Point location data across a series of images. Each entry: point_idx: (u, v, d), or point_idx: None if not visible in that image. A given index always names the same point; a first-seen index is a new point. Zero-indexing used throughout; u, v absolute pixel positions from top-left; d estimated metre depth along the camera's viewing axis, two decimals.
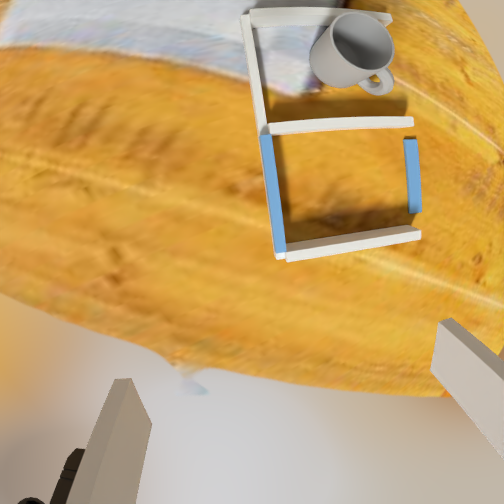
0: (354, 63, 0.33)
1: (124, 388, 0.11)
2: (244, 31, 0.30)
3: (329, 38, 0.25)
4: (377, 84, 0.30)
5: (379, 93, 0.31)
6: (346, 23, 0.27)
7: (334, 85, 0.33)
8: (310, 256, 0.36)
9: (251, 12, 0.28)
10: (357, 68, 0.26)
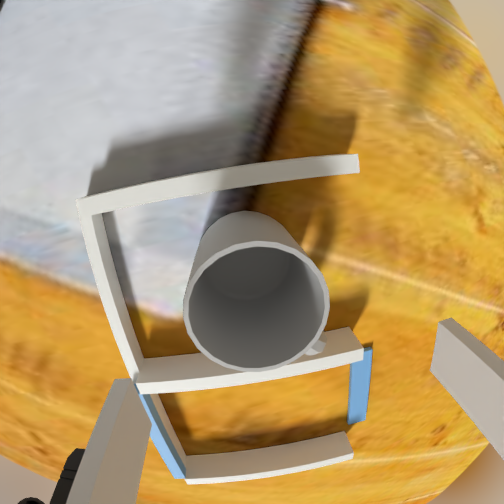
0: (279, 254, 0.24)
1: (124, 388, 0.11)
2: (84, 232, 0.20)
3: (184, 317, 0.15)
4: None
5: None
6: None
7: None
8: (212, 482, 0.27)
9: (81, 207, 0.18)
10: (240, 369, 0.16)
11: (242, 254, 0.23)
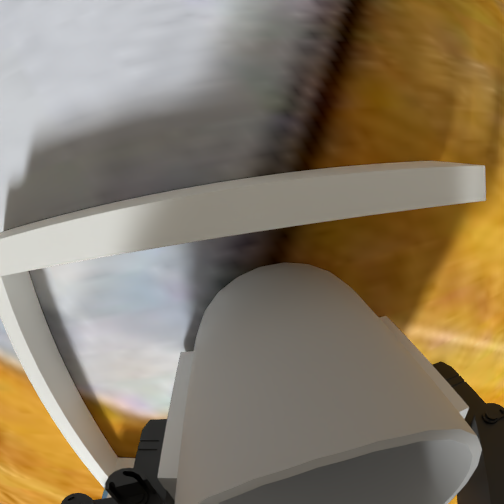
0: None
1: None
2: None
3: None
4: None
5: None
6: None
7: None
8: None
9: None
10: None
11: None
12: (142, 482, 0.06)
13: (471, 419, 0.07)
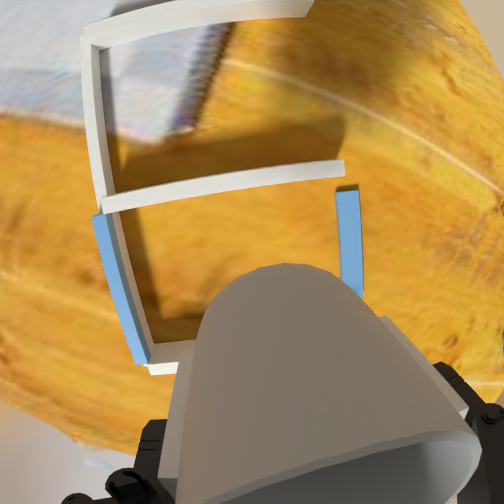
0: None
1: None
2: (82, 59, 0.19)
3: None
4: None
5: None
6: None
7: None
8: None
9: (84, 31, 0.17)
10: None
11: None
12: (142, 482, 0.06)
13: (471, 419, 0.07)
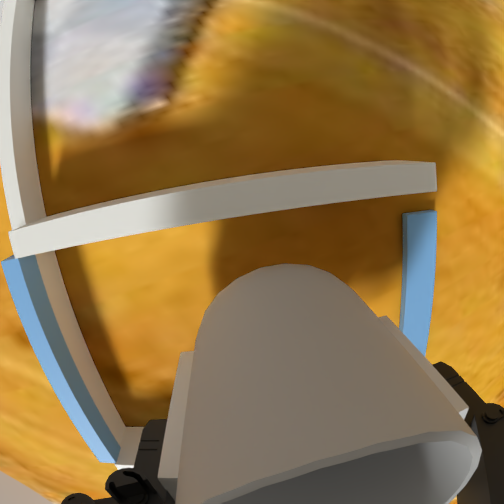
0: None
1: None
2: (3, 12, 0.08)
3: None
4: None
5: None
6: (307, 353, 0.07)
7: None
8: None
9: None
10: None
11: None
12: (142, 482, 0.06)
13: (471, 419, 0.07)
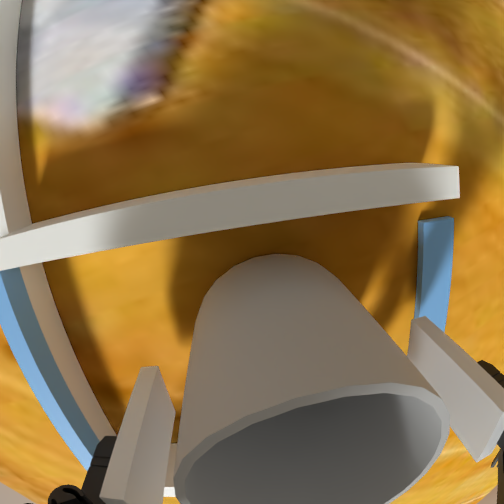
0: None
1: (151, 375, 0.11)
2: None
3: None
4: None
5: None
6: None
7: None
8: None
9: None
10: None
11: None
12: (82, 499, 0.05)
13: None
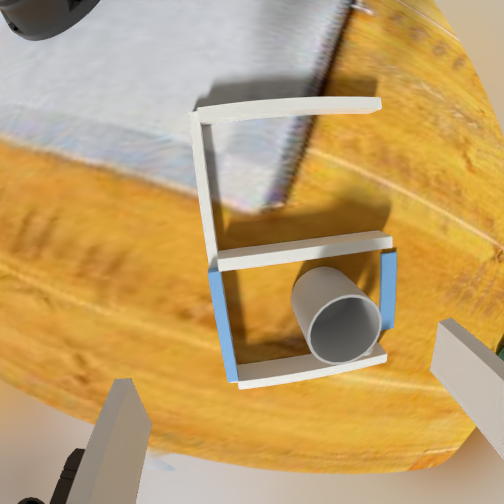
0: None
1: (124, 388, 0.11)
2: (192, 136, 0.29)
3: (306, 334, 0.27)
4: None
5: None
6: (335, 286, 0.29)
7: None
8: (263, 384, 0.34)
9: (198, 112, 0.27)
10: (331, 363, 0.28)
11: None
12: None
13: None
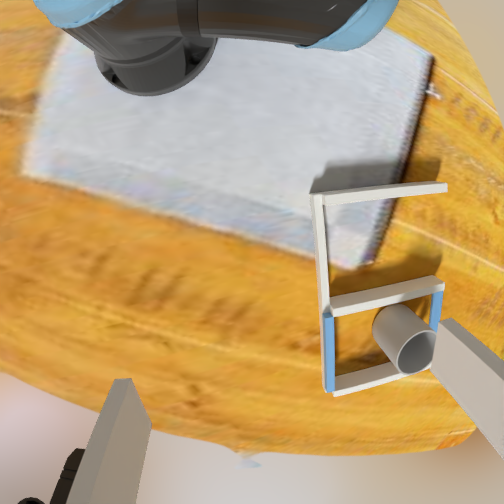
0: None
1: (124, 388, 0.11)
2: (316, 215, 0.37)
3: (395, 357, 0.37)
4: None
5: None
6: (411, 322, 0.38)
7: None
8: (351, 391, 0.44)
9: (326, 199, 0.35)
10: (407, 374, 0.37)
11: None
12: None
13: None
